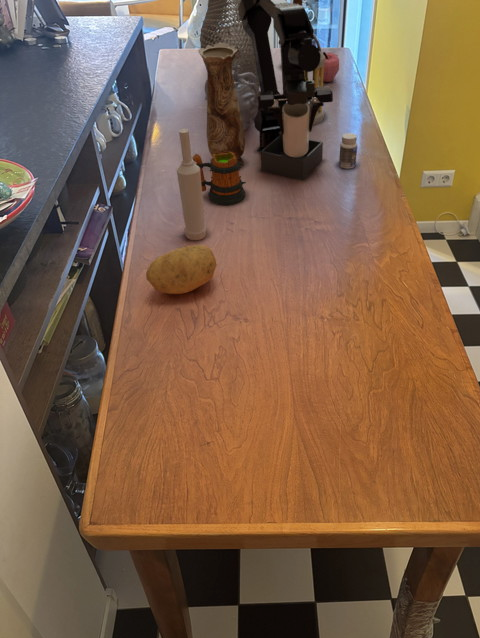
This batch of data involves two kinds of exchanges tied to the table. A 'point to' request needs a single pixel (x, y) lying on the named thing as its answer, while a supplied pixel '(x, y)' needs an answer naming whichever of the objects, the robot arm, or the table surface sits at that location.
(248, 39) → the vase
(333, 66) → the apple
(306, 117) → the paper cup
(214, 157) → the mug
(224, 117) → the vase
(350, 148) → the pill bottle
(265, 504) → the table surface
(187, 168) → the bottle
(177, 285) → the potato
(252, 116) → the ornament
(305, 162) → the bin
